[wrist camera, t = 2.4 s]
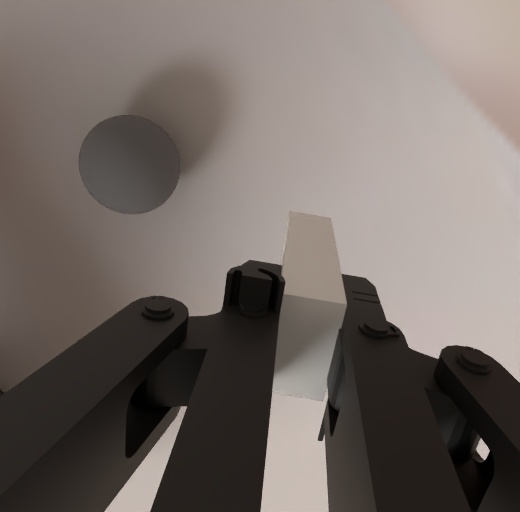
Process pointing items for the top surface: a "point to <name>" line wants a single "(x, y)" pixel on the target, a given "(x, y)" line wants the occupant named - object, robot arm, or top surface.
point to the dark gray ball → (129, 164)
